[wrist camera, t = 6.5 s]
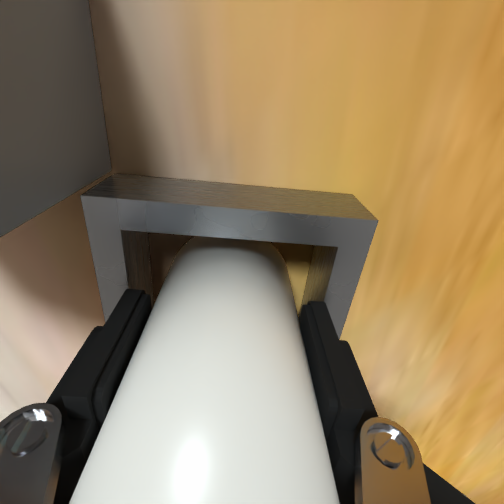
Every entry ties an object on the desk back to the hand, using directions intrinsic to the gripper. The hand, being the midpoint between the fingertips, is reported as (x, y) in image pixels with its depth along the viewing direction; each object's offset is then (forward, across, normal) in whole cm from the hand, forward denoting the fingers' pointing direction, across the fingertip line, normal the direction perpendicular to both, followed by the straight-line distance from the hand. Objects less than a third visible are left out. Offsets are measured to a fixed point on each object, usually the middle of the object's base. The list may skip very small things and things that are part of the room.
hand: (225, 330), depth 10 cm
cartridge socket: (+3, 0, 0) cm, 3 cm away
